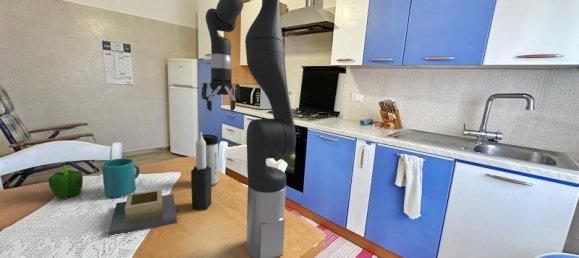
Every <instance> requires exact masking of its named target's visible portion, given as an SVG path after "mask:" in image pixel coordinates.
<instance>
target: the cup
mask: <svg viewBox="0 0 579 258" xmlns="http://www.w3.org/2000/svg"><path fill="white" fill-rule="evenodd" d="M135 170H136V172H135ZM101 172H102V173H101V174H102V180H103V181H102V182H103V191H104V196H105V197H106V198H109V197H119V198H122V197H121V196H124V197H127V196H128V194H131V193H135V191H136V189H137V187H136V185H137V184H136V179H137V178H138V177H139V176H140V173H141V169H140V167H139V165H137V164H135V161H134V159H132V158H128V157H127V158H125V157H124V158H112V159H109V160H107V161H104V162H102V164H101ZM126 195H127V196H126Z"/></svg>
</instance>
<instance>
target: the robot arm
mask: <svg viewBox="0 0 579 258" xmlns="http://www.w3.org/2000/svg"><path fill="white" fill-rule="evenodd" d="M243 8H244V0H219V1H218V2H217V5H216V8H213V7H212V8H208V9H207V11H206V13H205V22H206V26H207V30H208V33H209V37H210V43H211V44H210V45H211V46H210V47H211V49H210V50H211V51H210V52H211V54H210V57H211V58H210V83H207V82H202V83H201V93H200V94H201V95H200V96H201V99H203V100H205V101H206V109H207V110H208V111H209V112H212V111H213V109H212V107H213V106H212V105H213V102H212V100H213V99H214V97H216V96H217V95H218V96H221V95H223V96H227V97H228V98H229V99H230V101H229V103H230V105H229V107H230V109H229V110H230V111H233V112H234V111H235V110H236V101H239V100H240V99H241V88H240V87H241V86H240V84H238V83H235V84H233V83H232V77H233V76H232V73H233V72H232V65H233V64H232V41H231V40H230V39H229V38H227V37H223V36H222V35H220V33H219V32H225V33H231V32H234V31H235V29H236V26H237V18H238V17H239V15H240V14H241V13H242V11H243ZM281 22H282V21H281V11H280V0H261V7H260V9H259V13H258V14H257V16H256V17H255V18H254V20H253V22H252V23H251V25H250V26H249V29H248V31H247V32H246V35H245V42H244V43H245V45H244V47H245V55H246V65H247V68H248V71H249V72H250V74H251V76H252V77H253V79H254V80H255V82H256V83H257V84H258V86H259V87H260V88H261V90H262V91H263V93H264V94H265V96H266V97H267V100H268V101H269V104H270V107H271V111H272V117H273V118H260V119H259V118H256V119H252V120H250V122H249V123H248V125H247V127H246V169H247V200H246V201H247V205H246V208H247V209H246V210H247V211H246V244H245V245H246V247H245V248H246V251H247V253H248V254H249V256H251V257H253V258H277V257H280V256H282V255H284V245H285V244H284V243H285V241H284V240H285V230H286V229H285V227H286V225H285V224H286V220H285V207H286V192H287V191H286V189H287V187H286V186H287V174H286V173H285V171H284V170H282V169H279V168H278V167H273V166H270V165H267V159H268V160H269V159H276V158H286V157H289V156H292V155H293V153H294V151H295V150H296V145H297V144H296V143H297V133H296V127H295V122H294V116H293V112H292V105H291V100H290V95H289V90H288V89H289V88H288V87H289V86H288V79H287V70H286V58H285V57H286V55H285V48H284V47H285V46H284V39H283V31H282V23H281ZM209 88H210V89H211V90H210V92H209V94H208V96H207V90H208V89H209ZM232 88H233V90H234V93H232V91H231V90H232Z"/></svg>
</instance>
